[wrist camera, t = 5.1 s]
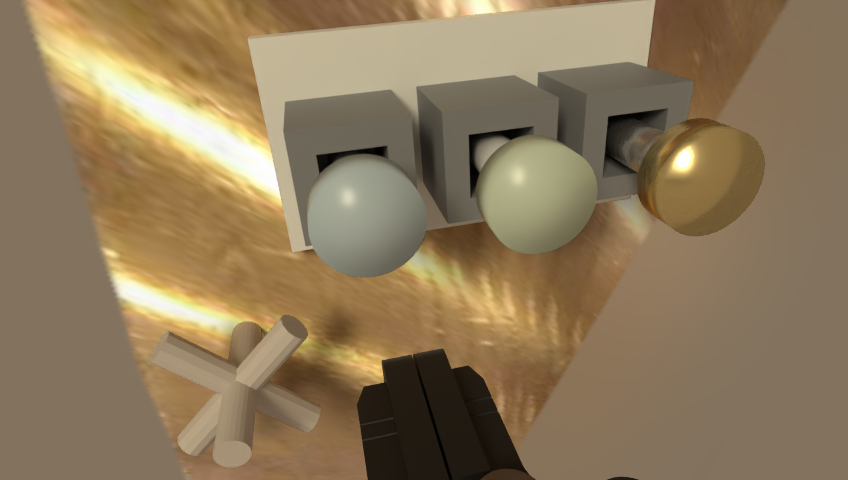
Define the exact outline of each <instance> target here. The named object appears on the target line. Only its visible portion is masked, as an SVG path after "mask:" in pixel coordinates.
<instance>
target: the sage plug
mask: <svg viewBox="0 0 848 480" xmlns="http://www.w3.org/2000/svg"><path fill="white" fill-rule="evenodd" d="M469 162H470V163H471V164H472V165H473V166H474V167H475V169H476V170H477V171H478V172H479V173H480V174H479V176H478V180H477V184H476V194H475V196H476V203H477V207H478V210H479V212H480V214H481V216H482V218H483V219H484V221H485V222H486V223H487V225H488V226H489V227H490V229H491V230H492V231H493V233H494V234H495V235H496V237H497V238H498V239H499V240H500V241H501V242H502V243H503V244H504V245H505V246H506V247H508V248H510V249H511V250H514V251H516V252H519V253H524V254H542V253H547V252H550V251H553V250H556V249H558V248H560V247H562V246H564V245H565V244H567V243H568V242H570V241H571V240H572V239H574V238H575V237H576V236H577V235H578V234H579V233H580V232H581V231H582V229H583V228H584V227H585V226H586V224H587V223H588V221H589V219H590V217H591V216H592V213H593V211H594V208H595V205H596V201H597V191H598V188H597V180H596V177H595V174H594V171H593V169H592V168H591V166H590V165H589V163H588V162H587V161H586V160H585V159H584V158H583V157H582V156H580V155H579V154H577V153H576V152H574V151H573V150H571V149H570V148H568V147H567V146H565V145H564V144H562V143H561V142H559V141H558V140H556V139H554V138H551V137H549V136H544V135H536V134H535V135H525V136H521V137H518V138H515V139H513V140H510V139H509V138H508V137H506V136H505V135H504V134H503V133H501V132H500V131H493V132H486V133H478V134H471V135H469Z"/></svg>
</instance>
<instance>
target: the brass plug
mask: <svg viewBox="0 0 848 480" xmlns="http://www.w3.org/2000/svg"><path fill="white" fill-rule="evenodd" d="M605 153H606V154H608V155H609V156H611V157H613V158H614V159H616V160H618V161H619V162H621V163H623V164H624V165H626V166H628V167H629V168H631V169H632V170H634V171H636V172H637V173H638V177H637V192H638V196H639V199H640V201H641V203H642V205H643V206H644V207H645V209H646V210H647V211H648V212H650V213H651V214H652V215H654V216H655V217H657V218H658V219H660V220H661V221H662V222H664V223H665V224H667V225H668V226H670V227H671V228H673V229H674V230H675V231H677V232H679V233H681V234H684V235H689V236H703V235H707V234H711V233H714V232H717V231H718V230H721V229H723V228H724V227H726V226H728V225H729V224H731V223H732V222H733V221H735V220H736V219H737V218H738V217H739V216H740V215H741V214H742V213H743V212H744V211H745V210H746V209H747V208H748V206H749V205H750V204H751V202H752V201H753V199H754V198H755V196H756V194H757V192H758V190H759V188H760V185H761V183H762V179H763V175H764V166H765V162H764V155H763V151H762V149H761V146H760V145H759V143H758V142H757V141H756V140H755V139H754V137H752V136H751V135H749V134H747V133H745V132H743V131H740V130H737V129H735V128H732V127H729V126H727V125H724V124H721V123H719V122H716V121H713V120H710V119H704V118H696V119H690V120H686V121H683V122H681V123H679V124H676V125H674V126H673V127H671V128H670V129H668V130H667V131H665V132H664V131H662V130H659V129H657V128H655V127H653V126H651V125H648V124H646V123H644V122H642V121H640V120H637V119H635V118H633V117H631V116H628V115H626V114H621V115H614V116H608V123H607V134H606V145H605Z"/></svg>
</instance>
